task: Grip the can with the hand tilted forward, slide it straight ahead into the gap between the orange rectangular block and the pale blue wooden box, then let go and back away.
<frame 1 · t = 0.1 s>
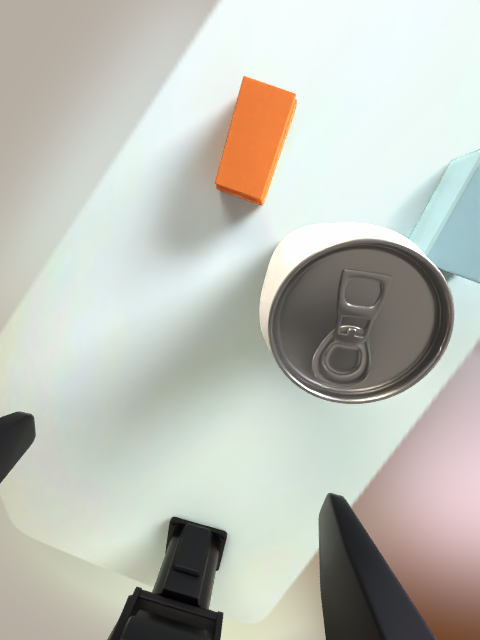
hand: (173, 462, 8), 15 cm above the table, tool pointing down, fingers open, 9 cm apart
box: (454, 221, 18), on the table
can: (312, 270, 20), on the table
orange rectangular block: (255, 150, 18), on the table
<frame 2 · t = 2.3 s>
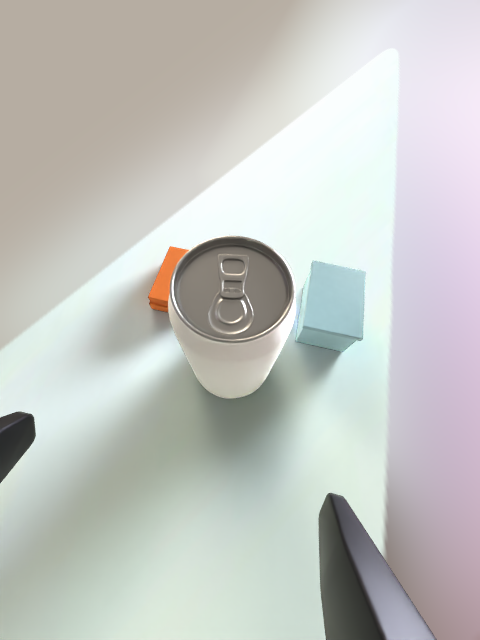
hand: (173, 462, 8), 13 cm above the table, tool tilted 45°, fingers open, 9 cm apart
box: (322, 316, 25), on the table
can: (231, 361, 23), on the table
orange rectangular block: (179, 285, 26), on the table
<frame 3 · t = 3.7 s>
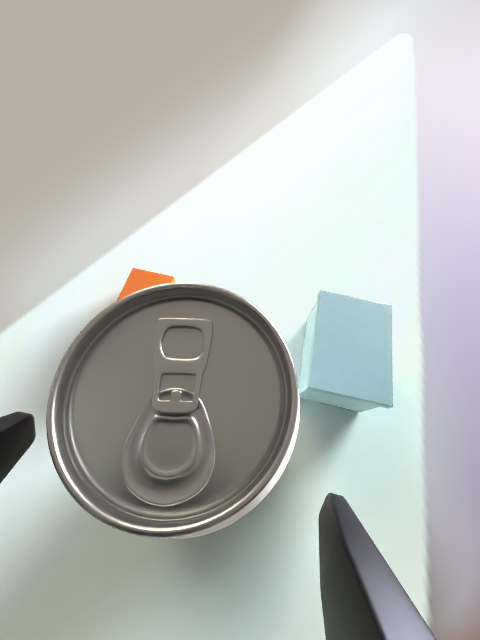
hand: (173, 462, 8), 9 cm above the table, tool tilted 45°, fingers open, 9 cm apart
box: (331, 361, 19), on the table
can: (210, 425, 17), on the table
orange rectangular block: (145, 318, 20), on the table
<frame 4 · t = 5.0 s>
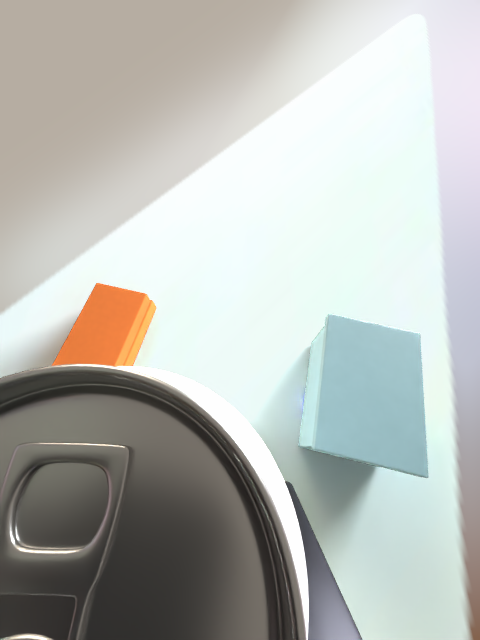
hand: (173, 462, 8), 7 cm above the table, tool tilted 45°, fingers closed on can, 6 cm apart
box: (341, 399, 15), on the table
can: (189, 486, 14), on the table, touching gripper
orange rectangular block: (113, 344, 16), on the table
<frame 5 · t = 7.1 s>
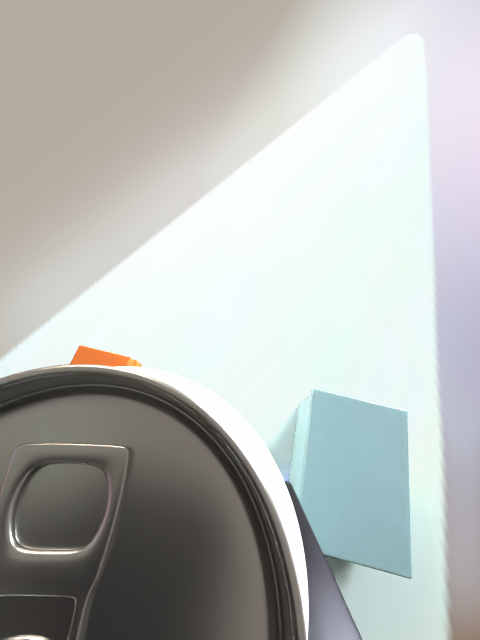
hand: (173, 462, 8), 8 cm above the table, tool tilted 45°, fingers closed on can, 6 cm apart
box: (328, 466, 15), on the table
can: (189, 486, 14), point 1 cm above the table, touching gripper
orange rectangular block: (97, 406, 16), on the table
when the fingers open (7 cm above the table, at t = 9.0 s): can stays where it is, on the table.
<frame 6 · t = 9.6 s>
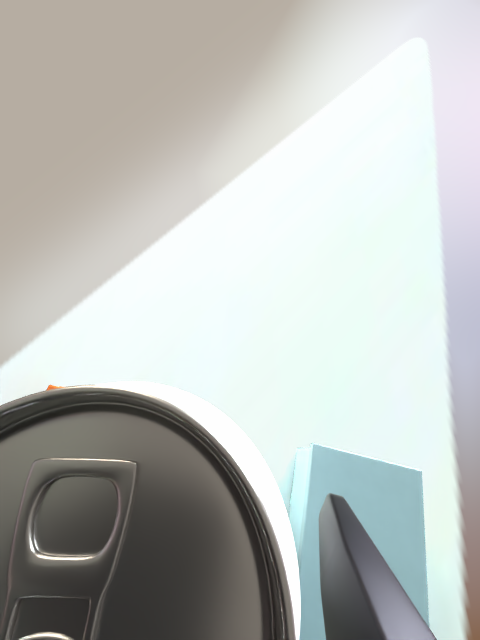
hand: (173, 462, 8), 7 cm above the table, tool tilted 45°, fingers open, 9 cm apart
box: (330, 524, 13), on the table
can: (190, 489, 14), on the table
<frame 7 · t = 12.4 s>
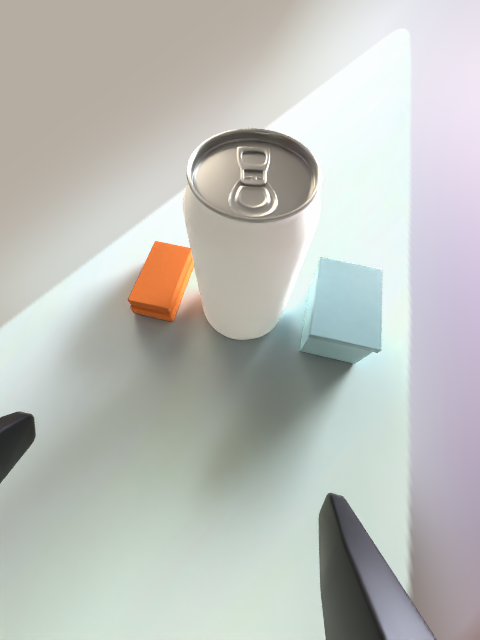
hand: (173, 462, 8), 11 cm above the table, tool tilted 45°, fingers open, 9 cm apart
box: (330, 322, 22), on the table
can: (242, 306, 22), on the table
orange rectangular block: (166, 286, 23), on the table
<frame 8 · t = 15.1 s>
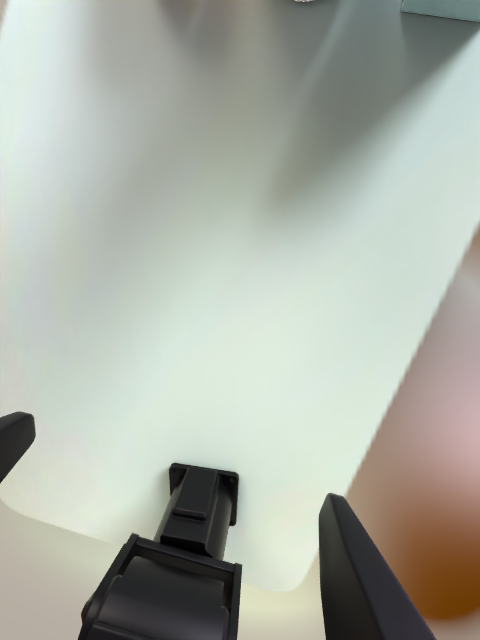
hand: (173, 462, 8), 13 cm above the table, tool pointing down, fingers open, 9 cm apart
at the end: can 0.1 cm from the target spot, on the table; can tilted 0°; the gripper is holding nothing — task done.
